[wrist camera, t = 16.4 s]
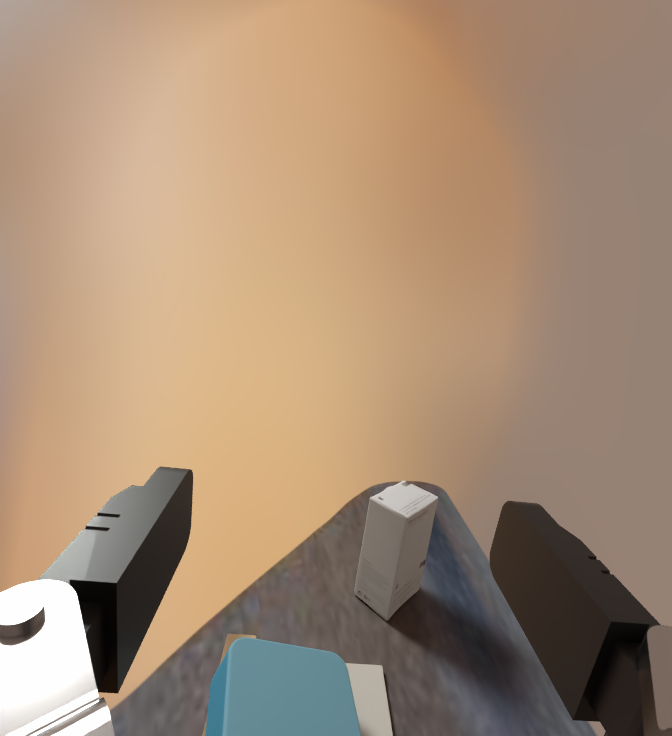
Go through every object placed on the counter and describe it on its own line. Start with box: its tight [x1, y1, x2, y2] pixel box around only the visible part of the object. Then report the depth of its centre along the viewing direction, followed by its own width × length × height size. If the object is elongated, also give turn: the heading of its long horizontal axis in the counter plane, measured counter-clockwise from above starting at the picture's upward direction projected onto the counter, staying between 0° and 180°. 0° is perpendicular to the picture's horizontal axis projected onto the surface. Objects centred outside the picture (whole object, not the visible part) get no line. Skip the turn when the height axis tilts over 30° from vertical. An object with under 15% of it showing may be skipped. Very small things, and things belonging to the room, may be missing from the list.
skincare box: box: [354, 481, 438, 621], centre depth 52 cm, size 8×6×15 cm
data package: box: [205, 637, 361, 736], centre depth 32 cm, size 12×4×12 cm
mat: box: [345, 663, 393, 736], centre depth 38 cm, size 14×10×1 cm
